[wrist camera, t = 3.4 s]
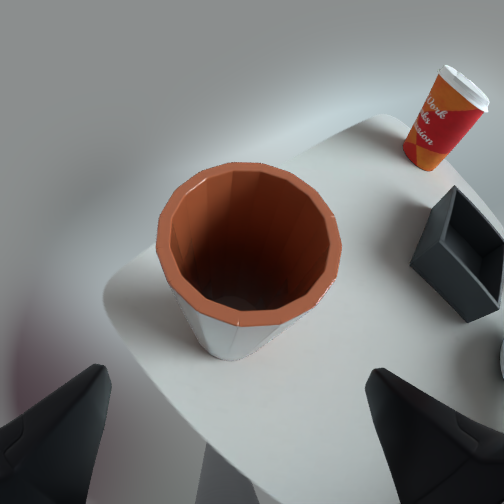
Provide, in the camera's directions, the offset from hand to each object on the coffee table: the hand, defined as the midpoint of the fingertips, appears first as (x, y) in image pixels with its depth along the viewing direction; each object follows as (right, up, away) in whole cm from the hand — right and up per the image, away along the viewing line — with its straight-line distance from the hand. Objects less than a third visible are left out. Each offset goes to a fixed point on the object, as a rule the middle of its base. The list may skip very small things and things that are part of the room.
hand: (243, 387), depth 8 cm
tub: (+23, +3, +18) cm, 29 cm away
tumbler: (-1, -1, +12) cm, 12 cm away
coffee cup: (+25, +18, +25) cm, 40 cm away
